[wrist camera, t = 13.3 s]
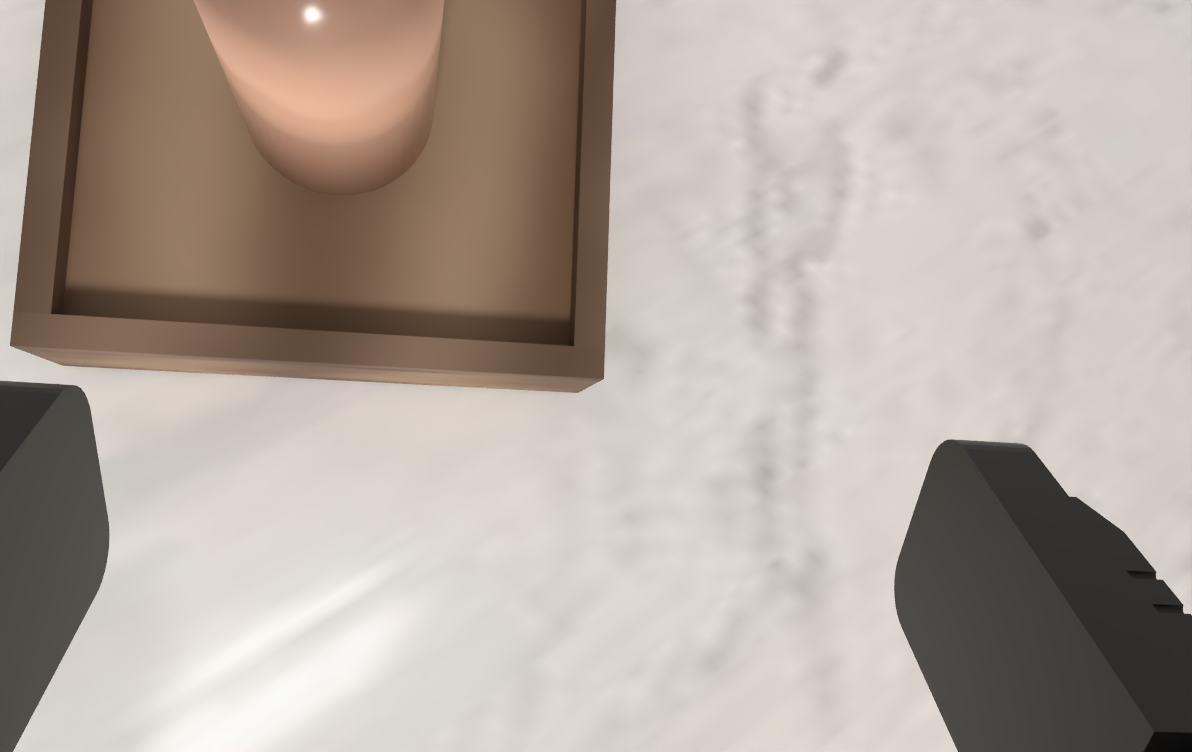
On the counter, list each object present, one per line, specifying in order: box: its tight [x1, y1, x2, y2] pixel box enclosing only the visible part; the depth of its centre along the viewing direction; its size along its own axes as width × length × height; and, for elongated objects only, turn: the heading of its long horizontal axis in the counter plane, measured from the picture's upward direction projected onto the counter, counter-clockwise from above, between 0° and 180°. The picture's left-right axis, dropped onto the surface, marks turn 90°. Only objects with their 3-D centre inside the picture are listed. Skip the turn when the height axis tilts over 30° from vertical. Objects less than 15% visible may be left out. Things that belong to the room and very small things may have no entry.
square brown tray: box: [10, 0, 616, 393], centre depth 27 cm, size 14×14×4 cm
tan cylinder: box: [194, 0, 444, 195], centre depth 22 cm, size 5×5×9 cm
